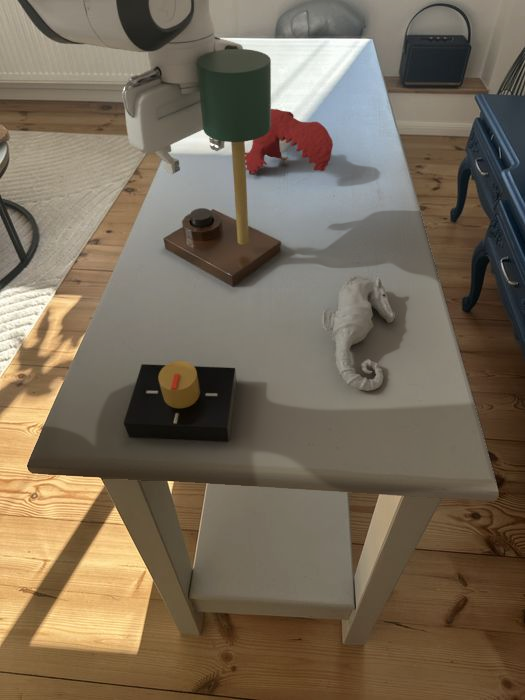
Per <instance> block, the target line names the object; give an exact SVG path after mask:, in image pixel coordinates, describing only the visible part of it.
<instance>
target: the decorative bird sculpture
mask: <svg viewBox="0 0 525 700" xmlns="http://www.w3.org/2000/svg"><path fill="white" fill-rule="evenodd" d="M294 116H295V115H294V113H293V112H291V111H288V110H281V109H278V108H271V129H270V131H269V132H268V133H267V134H266V135H264V136H262V137H260V138H258V139H254V140H252V145H251V148H250V150H249V152H245V164H246V171H248V174H249V175H252V174H254V175H257V172H260V168H261V169H262V170H263V169H264V165H265V166H267V165H268V163H267V162H266V161H265V156H267V157H270V158H273V159H275V158H276V159H282V160H283V162H286V161H287V160H289V159H290V158H289V157H288V156H286V157H285V156H284V157H283V156H282V152H281V143H280V141H281V142H284V141H285V143H286V144H288V143H290V147H293V146H296V145H297V146H296V149H295V151H296V152H302V153H301V159H304V160H305V159H306V158H308V164H314V166H313V171H320V172H325V170H326V168H327V167H328V165H329V163H330V160H331V155H332V151H333V147H334V142H333V138H332V137H331V136H330V133H329V131H328V129H326V127H325V126H324V125H323V124H321V122H318V121H300V120H298V119H296V118H295V117H294Z"/></svg>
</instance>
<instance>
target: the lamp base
mask: <svg viewBox="0 0 525 700" xmlns="http://www.w3.org/2000/svg"><path fill="white" fill-rule="evenodd" d="M209 210H210V211H211V212H212V221H213V223H212V225H210V226H209V227H205V228H196V227H193V226H192V224H191V217H190V213H189V214H187V215H185V216H184V218H183V219H182V221H181V224H182V227H180V228H178V229H177V230H175V231H173V232H171V233H169V234H168V235H165V237H163V244H164V248H165V250H167V251H168V252H170V253H172V254H174V255H176V256H177V257H179V258H181V259H183V260H185V261H186V262H188V263H190V264H191V265H193V266H195V267H197V268H198V269H200V270H202V271H203V272H206V273H207V274H209V275H211V276H213V277H215V278H216V279H218V280H220V281H221V282H223V283H225V284H227V285H229V286H230V287H235V286H236V285H237V284H239V283H240V282H242V281H243V280H244V279H246V278H248V277H249V276H251V274H253V273H254V272H256V271H257V270H259V268H261V267H262V266H264V265H266V263H268V262H269V261H271V260H272V259H274V258H275V257H276V256H277V255H279V254H280V253H281V252H282V240H279V239H277V238H275V237H273V236H271V235H269V234H267V233H264V232H263V231H261V230H259V229H256V228H255V227H252V226H250V225H248V233H249V242H248V243H247V244H245V245H241V244H239V243H238V239H237V224H236V218H233V217H231V216H229V215H227V214H225V213H223V212H221V211H218V210H216V209H214V208H212V209H209Z"/></svg>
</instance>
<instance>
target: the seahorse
mask: <svg viewBox="0 0 525 700" xmlns="http://www.w3.org/2000/svg"><path fill="white" fill-rule="evenodd" d="M386 292H387V291H386V288H385V286H384V285H383V283H382V280H381V278H380V276H377V277H376V280H373V279H371V278H369V277H365V276H361V275H354V276H350V277H349V278H348V279H346V281H345V282H344V283H343V285H342V286H341V289H340V291H338V304H337V310H336V311H334V310H332V309H330V308H325V309H324V310H323V312H322V315H321V316H322V317H321V318H322V321H321V322H322V327H323V329H325V331H328V332H330V331H332V332H331V341H332V342H333V343H335V353H334V357H335V366H336V368H337V370H338V375H339V376H340V377H341V378H342V380H344V381H345V382H346V385H348V386H350V387H352V388H355V389H357V390H358V391H364V392H365V391H367V392H371V391H374V390H376V389H379V388H380V387H381V386H382V385H383V381H384V377H385V376H384V374H383V369H382V368H381V367H380V366H379V364H378V362H375V361H373V360H371V359H369V358H368V359H366V360H364V361H362V363H361V364H360V367H361V370H362V372H363V373H365V374H367V375H371V374H372V373H373V371H374V374H375V375H374V378H372V379H369V378H367V377H364V376H361V374H358V373H356V369H355V368H353V365H352V360H351V352H350V351H351V347H352V346H353V345H356V344H359V343H360V342H362V341H364V339H365V338H366V337H367V335H368V333H370V331H371V330H372V329H373V328H374V323H373V321H372V317H373V315H374V312H373V309H372V307H373V308H374V309H375V310H376V311H377V312H378V315H379V316H380V317H382V318H383V319H384V320H385V322H386V323H387V324H391V323H392V322H393V321H394V320H395V317H396V313H395V312H394V311H393V309H392V307H391V305H390V302H389V298H388V295H387V293H386ZM368 368H370V369H372V370H369V369H368Z"/></svg>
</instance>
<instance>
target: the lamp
mask: <svg viewBox="0 0 525 700" xmlns="http://www.w3.org/2000/svg"><path fill="white" fill-rule="evenodd" d="M196 63H197V73H198V83H199V92H200V102H201V111H202V121H203V130H202V131H203V132H204V134H205V135H206V136H207V137H209V138H210V137H211V138H213V139H216V140H220V141H224V143H225V142H226V143H230V144H231V160H232V174H233V189H234V191H233V192H234V203H235V204H234V207H235V220H236V224H237V239H238V243H239V244H241V245H245V244H247V243H248V242H249V233H248V226H249V215H248V213H249V211H248V191H247V189H248V187H247V170H246V168H247V165H246V164H245V163H246V160H245V156H246V155H245V153H246V146H245V144H246V142H251V141H253V140H254V139H258V138H260V137H262V136H264V135H266V134H267V133H268V132H269V131H270V129H271V109H272V59H271V57H270V56H269V55H268V54H267V53H264V52H262V51H258V50H254V49H247V48H243V49H226V50H219V51H214V52H210V53H207V54H205V55H203V56H201V57H199V58H198V60H197V62H196Z"/></svg>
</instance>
